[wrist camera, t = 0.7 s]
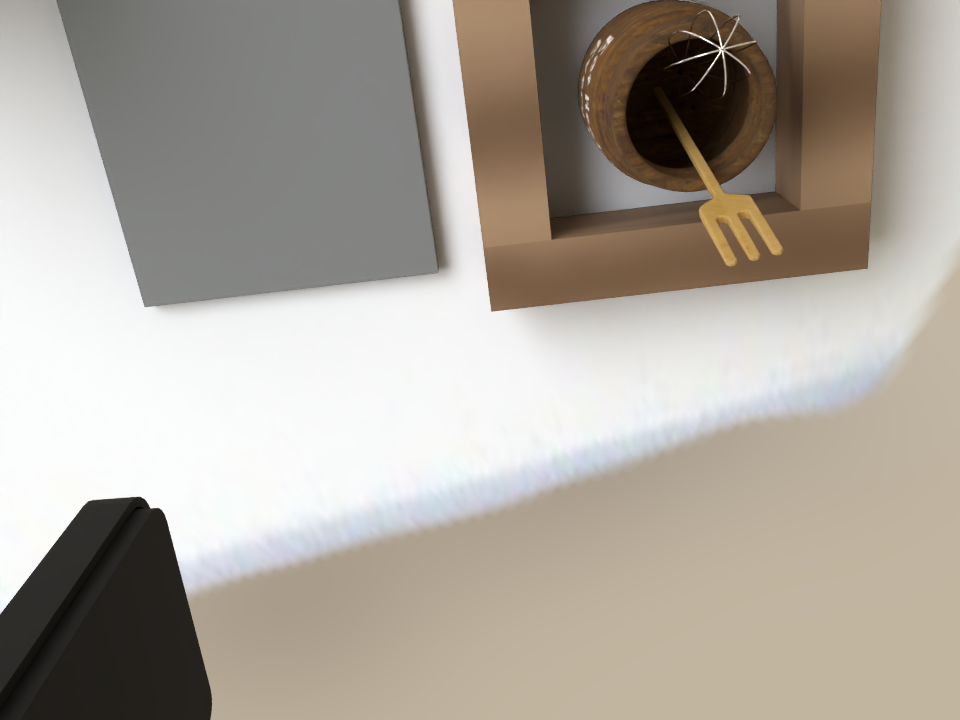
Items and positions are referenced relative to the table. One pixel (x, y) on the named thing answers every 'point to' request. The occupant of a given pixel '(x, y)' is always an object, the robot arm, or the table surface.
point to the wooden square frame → (677, 227)
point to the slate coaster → (255, 142)
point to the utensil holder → (683, 107)
